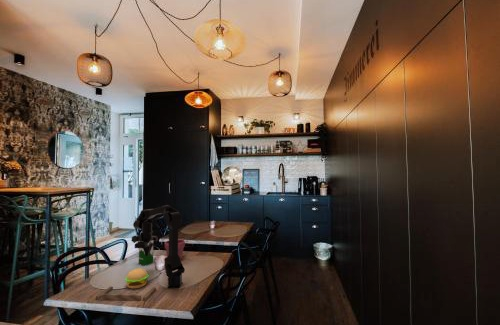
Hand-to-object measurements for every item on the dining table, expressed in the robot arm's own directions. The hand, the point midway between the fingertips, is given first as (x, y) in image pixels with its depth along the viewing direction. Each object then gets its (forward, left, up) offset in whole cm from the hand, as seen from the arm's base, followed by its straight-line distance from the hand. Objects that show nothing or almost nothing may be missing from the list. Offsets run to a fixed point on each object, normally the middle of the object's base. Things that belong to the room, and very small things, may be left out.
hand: (147, 256), depth 155 cm
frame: (-2, +24, -12) cm, 27 cm away
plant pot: (-6, -30, -12) cm, 33 cm away
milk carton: (+11, -21, -12) cm, 27 cm away
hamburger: (-1, +13, -12) cm, 18 cm away
